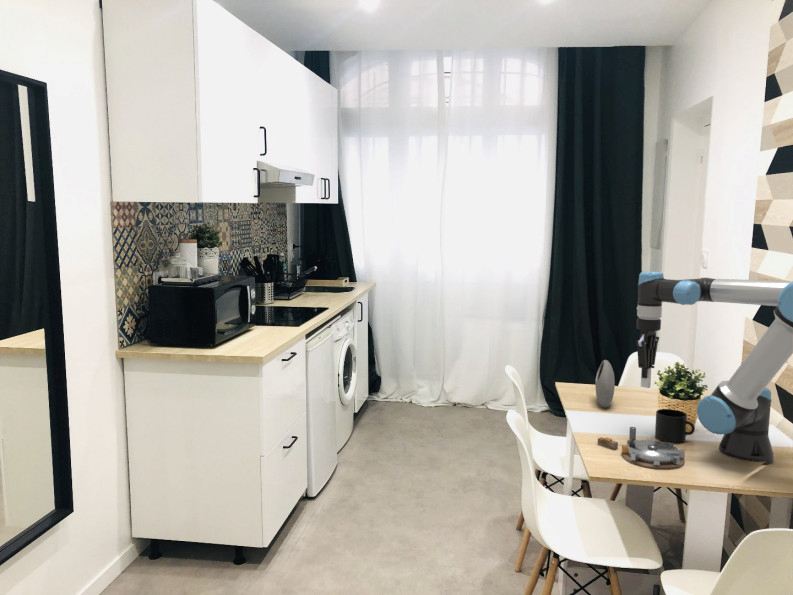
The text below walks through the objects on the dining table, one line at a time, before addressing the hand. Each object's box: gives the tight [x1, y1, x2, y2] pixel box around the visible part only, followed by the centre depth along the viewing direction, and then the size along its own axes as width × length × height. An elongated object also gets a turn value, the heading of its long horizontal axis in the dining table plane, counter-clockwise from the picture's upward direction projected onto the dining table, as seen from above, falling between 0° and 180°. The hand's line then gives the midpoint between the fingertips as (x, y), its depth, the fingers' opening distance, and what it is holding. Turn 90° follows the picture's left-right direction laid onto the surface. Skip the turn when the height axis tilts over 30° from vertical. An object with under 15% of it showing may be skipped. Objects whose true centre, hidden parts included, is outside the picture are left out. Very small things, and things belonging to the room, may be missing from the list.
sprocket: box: [621, 426, 685, 466], centre depth 193 cm, size 18×18×8 cm
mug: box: [654, 408, 696, 444], centre depth 210 cm, size 9×12×9 cm
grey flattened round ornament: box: [595, 359, 616, 409], centre depth 246 cm, size 18×7×19 cm, turn 165°
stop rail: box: [597, 437, 619, 451], centre depth 202 cm, size 6×2×3 cm, turn 41°
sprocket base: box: [620, 451, 685, 471], centre depth 193 cm, size 18×18×1 cm
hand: (645, 386), depth 212 cm, fingers closed
